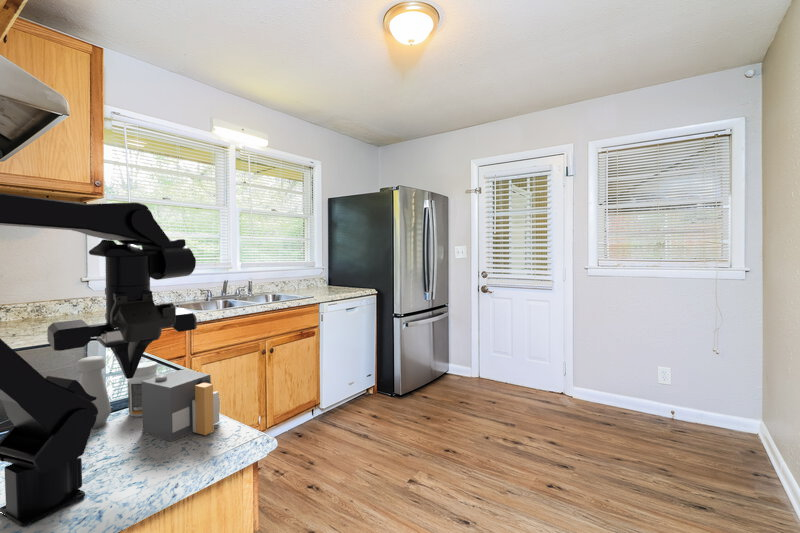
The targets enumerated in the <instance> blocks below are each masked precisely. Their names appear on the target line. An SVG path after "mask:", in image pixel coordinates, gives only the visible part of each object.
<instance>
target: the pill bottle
mask: <svg viewBox="0 0 800 533" xmlns="http://www.w3.org/2000/svg"><path fill="white" fill-rule="evenodd" d="M157 370H158V362H157V361H143V362H142V361H141V362H139V364H138V367H137V369H136V372H135V374H134V377H133V378H130V379H127V395H128V396H127V400H128V401H127V403H128V414H129V415H130V416H131V417H135V418H137V417H138V418H140V417H141V418H142V381H144V380H148V379H151V378H155V377H157V376H160V375H161V374H160V373H159V372H157Z"/></svg>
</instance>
